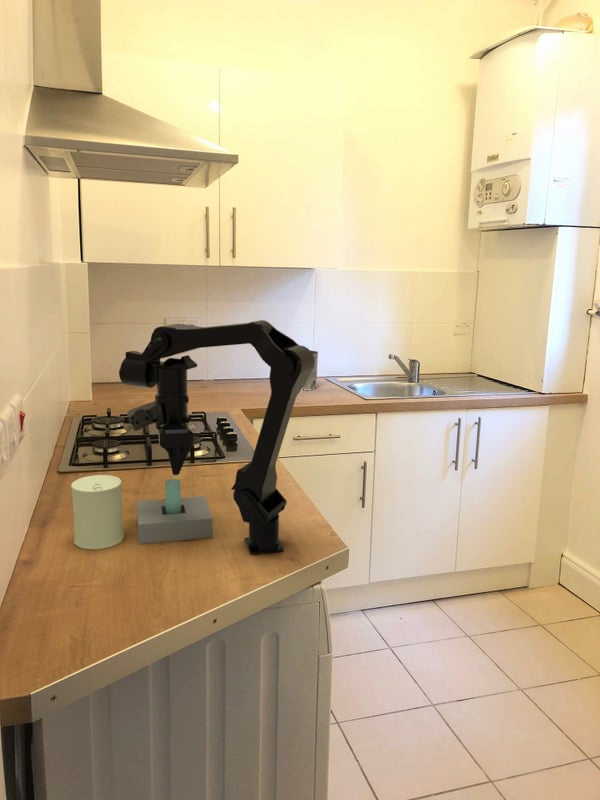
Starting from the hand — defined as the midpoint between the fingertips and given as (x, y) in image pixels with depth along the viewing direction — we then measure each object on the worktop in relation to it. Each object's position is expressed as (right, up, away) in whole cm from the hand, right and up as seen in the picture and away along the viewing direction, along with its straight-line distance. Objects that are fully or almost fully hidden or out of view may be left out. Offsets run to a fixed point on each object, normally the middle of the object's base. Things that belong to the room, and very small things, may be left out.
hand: (173, 467), depth 127 cm
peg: (-1, -13, +3) cm, 13 cm away
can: (-14, -14, -3) cm, 20 cm away
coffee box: (+27, +18, +143) cm, 146 cm away
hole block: (-1, -13, +3) cm, 13 cm away
